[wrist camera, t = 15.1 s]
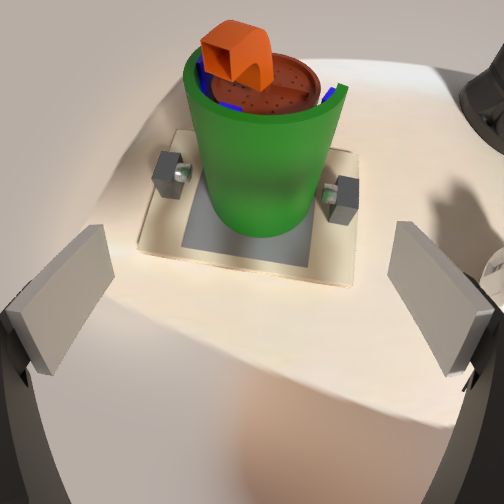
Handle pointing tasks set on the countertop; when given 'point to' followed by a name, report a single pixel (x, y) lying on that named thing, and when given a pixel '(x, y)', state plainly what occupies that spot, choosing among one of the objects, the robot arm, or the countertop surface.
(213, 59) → the green plastic cylinder
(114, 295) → the countertop surface
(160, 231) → the mount plate
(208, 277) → the countertop surface
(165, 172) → the knobbed dark grey block
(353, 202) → the grey block with stub
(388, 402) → the countertop surface
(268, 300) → the countertop surface
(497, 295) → the mechanical part
